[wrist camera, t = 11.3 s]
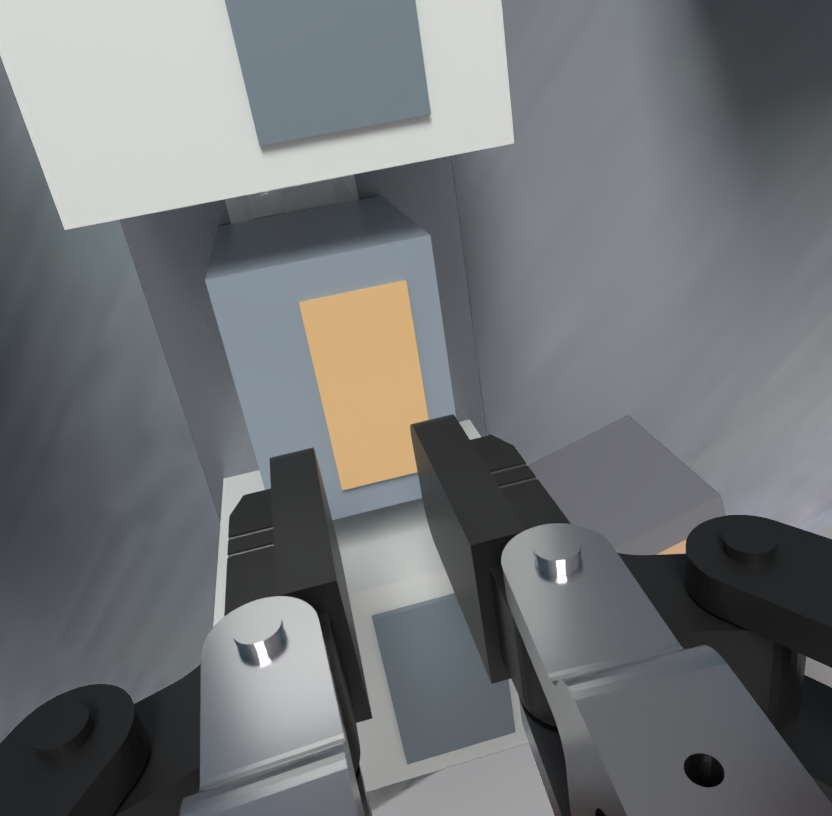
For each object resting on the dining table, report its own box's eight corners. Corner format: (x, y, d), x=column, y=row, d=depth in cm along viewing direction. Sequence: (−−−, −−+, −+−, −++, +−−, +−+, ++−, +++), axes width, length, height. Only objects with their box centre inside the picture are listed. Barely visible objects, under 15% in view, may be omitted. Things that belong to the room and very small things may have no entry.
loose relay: (627, 414, 27) (723, 497, 21) (671, 546, 30) (765, 648, 25) (509, 473, 27) (574, 572, 21) (565, 599, 30) (635, 714, 25)
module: (381, 195, 20) (432, 236, 14) (414, 391, 22) (467, 490, 17) (212, 227, 19) (196, 283, 14) (265, 424, 22) (271, 539, 16)
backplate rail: (392, -150, 18) (408, -177, 16) (488, 542, 28) (505, 574, 26) (30, -101, 17) (3, -124, 15) (259, 602, 27) (259, 641, 25)
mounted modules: (387, -173, 16) (473, -339, 10) (491, 576, 26) (570, 735, 20) (22, -124, 15) (-139, -275, 9) (269, 636, 25) (276, 824, 19)
